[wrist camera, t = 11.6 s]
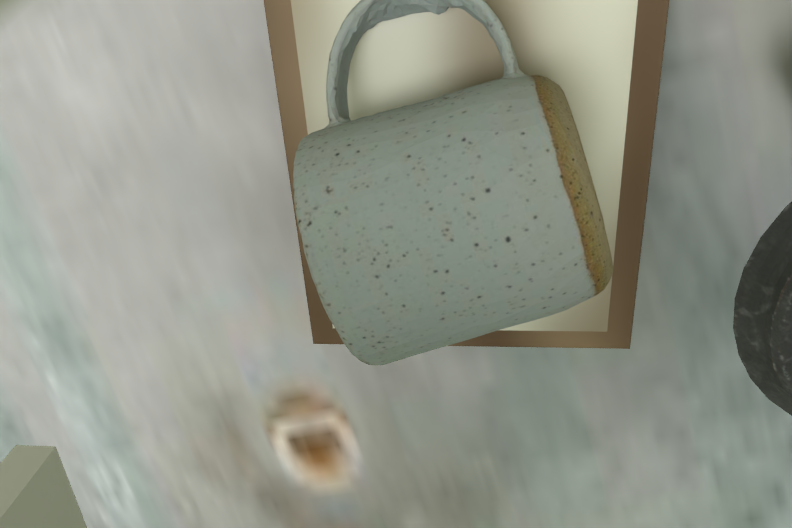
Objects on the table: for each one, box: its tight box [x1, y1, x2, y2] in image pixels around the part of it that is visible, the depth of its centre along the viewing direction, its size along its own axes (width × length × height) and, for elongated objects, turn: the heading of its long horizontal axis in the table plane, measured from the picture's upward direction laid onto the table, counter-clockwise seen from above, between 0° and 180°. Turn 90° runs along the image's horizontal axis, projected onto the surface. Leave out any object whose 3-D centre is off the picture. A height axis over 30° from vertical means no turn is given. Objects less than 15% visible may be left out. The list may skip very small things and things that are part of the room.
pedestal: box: [264, 0, 669, 349], centre depth 28 cm, size 13×15×6 cm
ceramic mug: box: [293, 0, 613, 365], centre depth 21 cm, size 11×8×8 cm
